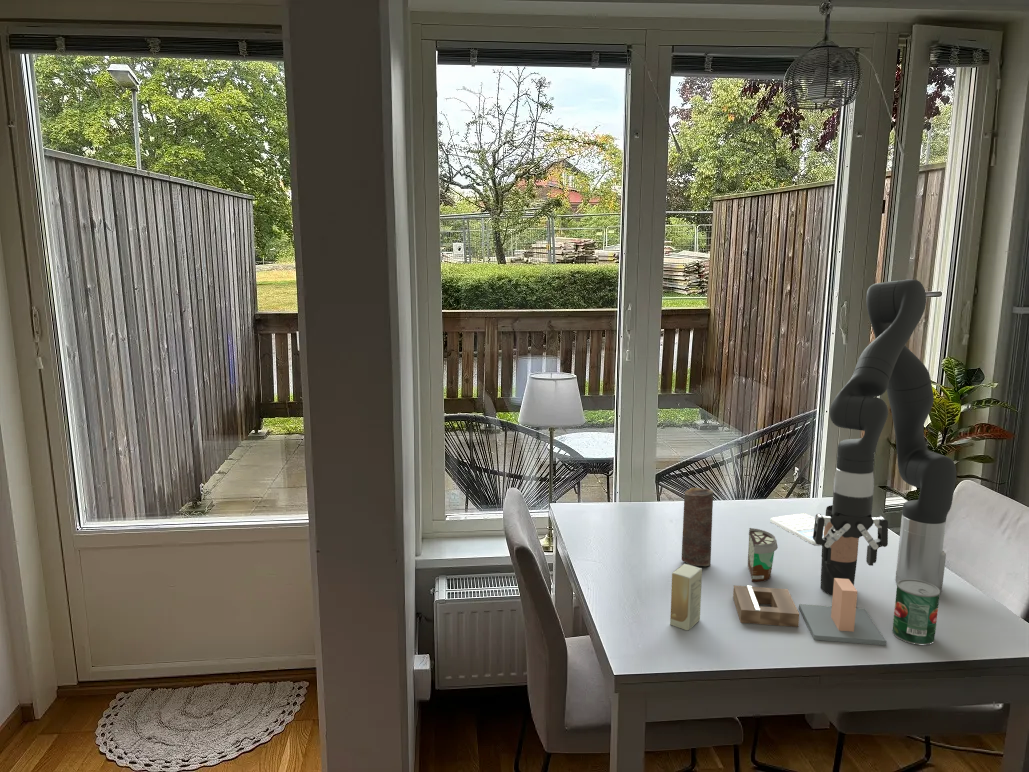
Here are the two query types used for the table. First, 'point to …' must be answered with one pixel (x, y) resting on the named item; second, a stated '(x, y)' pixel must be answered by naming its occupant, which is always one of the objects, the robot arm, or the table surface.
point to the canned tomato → (915, 611)
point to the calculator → (797, 525)
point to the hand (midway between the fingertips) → (848, 563)
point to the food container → (760, 554)
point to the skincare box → (686, 596)
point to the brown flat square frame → (777, 614)
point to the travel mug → (839, 559)
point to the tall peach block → (844, 604)
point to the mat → (828, 631)
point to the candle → (697, 527)
